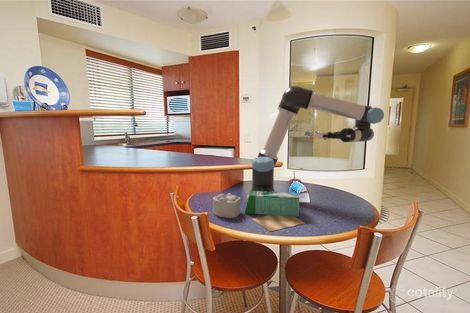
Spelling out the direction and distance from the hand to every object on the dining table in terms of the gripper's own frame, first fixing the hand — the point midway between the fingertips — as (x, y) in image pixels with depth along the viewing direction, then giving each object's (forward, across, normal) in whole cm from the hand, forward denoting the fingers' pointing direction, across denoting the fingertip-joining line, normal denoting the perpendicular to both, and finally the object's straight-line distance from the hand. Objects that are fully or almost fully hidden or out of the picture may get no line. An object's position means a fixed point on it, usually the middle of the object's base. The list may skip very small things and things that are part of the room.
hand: (316, 136), depth 121 cm
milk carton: (+14, +5, +32) cm, 35 cm away
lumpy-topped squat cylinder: (+44, -12, +36) cm, 58 cm away
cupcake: (-12, -29, +36) cm, 48 cm away
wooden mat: (+28, +8, +36) cm, 46 cm away
